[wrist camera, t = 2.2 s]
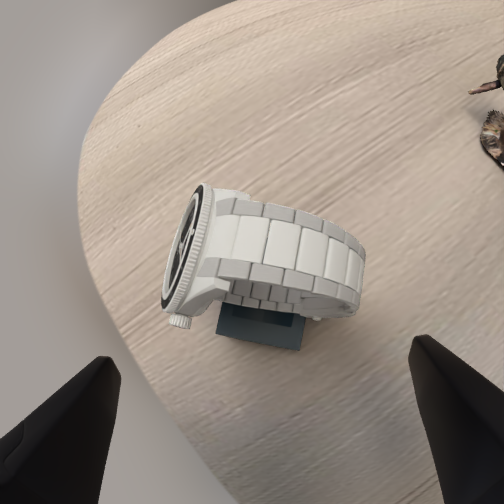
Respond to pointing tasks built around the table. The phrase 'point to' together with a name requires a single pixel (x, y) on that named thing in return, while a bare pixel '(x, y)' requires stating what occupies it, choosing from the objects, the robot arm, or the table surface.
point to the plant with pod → (494, 117)
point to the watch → (260, 268)
